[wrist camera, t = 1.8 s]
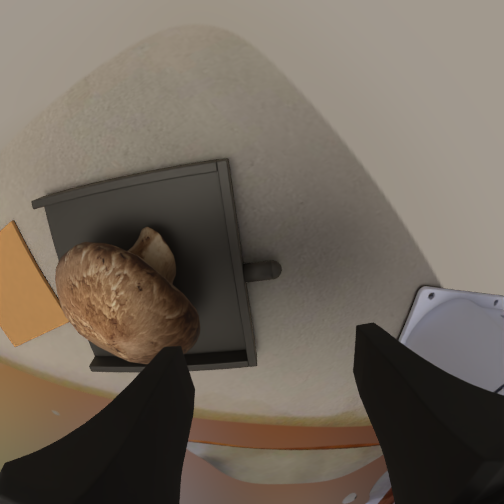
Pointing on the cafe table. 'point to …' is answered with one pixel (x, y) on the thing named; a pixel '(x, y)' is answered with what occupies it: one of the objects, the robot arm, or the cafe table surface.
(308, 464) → the cafe table surface
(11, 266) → the mat
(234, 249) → the pan
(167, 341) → the mushroom
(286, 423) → the cafe table surface
